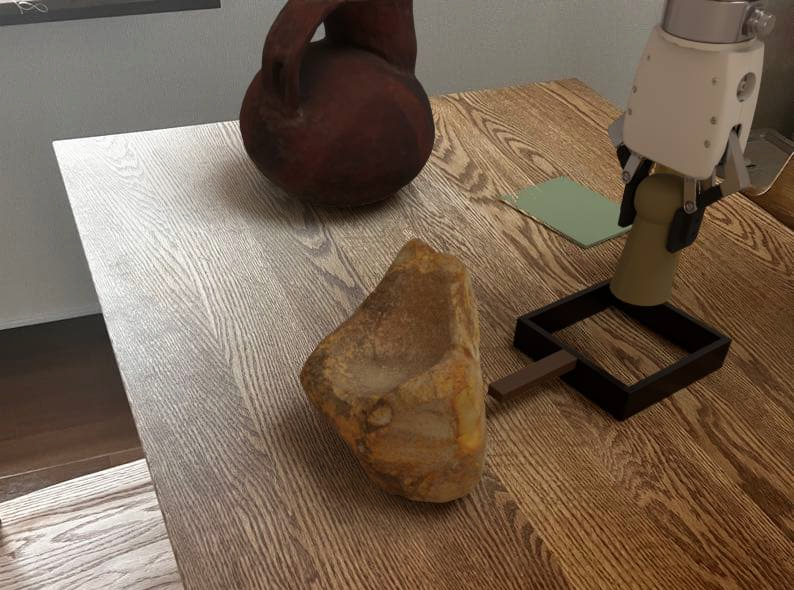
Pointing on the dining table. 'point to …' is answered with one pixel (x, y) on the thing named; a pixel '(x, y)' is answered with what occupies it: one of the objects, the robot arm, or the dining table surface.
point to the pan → (592, 379)
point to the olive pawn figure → (650, 243)
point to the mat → (572, 210)
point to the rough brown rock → (408, 379)
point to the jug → (339, 103)
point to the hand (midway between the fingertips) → (654, 233)
